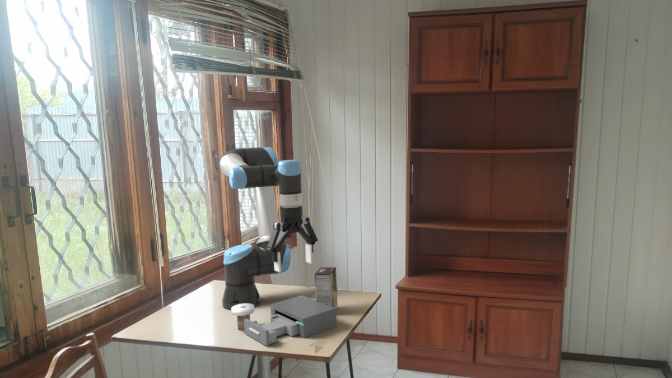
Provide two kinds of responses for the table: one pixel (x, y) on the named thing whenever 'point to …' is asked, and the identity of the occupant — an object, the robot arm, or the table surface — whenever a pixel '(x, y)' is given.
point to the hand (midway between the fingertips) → (293, 266)
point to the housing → (307, 314)
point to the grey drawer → (271, 329)
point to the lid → (243, 309)
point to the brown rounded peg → (242, 322)
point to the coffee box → (326, 286)
